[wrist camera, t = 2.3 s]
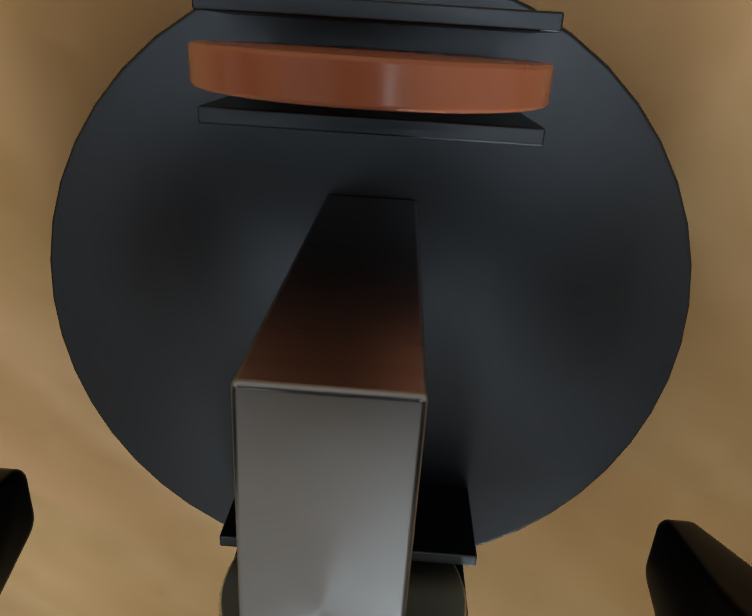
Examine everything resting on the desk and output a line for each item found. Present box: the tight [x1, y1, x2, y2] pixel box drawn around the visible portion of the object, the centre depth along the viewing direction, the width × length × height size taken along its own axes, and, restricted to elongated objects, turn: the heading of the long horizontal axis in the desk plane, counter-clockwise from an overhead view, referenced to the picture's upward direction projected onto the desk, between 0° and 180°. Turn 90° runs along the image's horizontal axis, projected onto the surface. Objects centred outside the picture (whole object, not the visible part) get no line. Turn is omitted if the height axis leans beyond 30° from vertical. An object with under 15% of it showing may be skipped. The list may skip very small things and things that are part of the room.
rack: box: [50, 0, 691, 616], centre depth 12 cm, size 15×15×9 cm
